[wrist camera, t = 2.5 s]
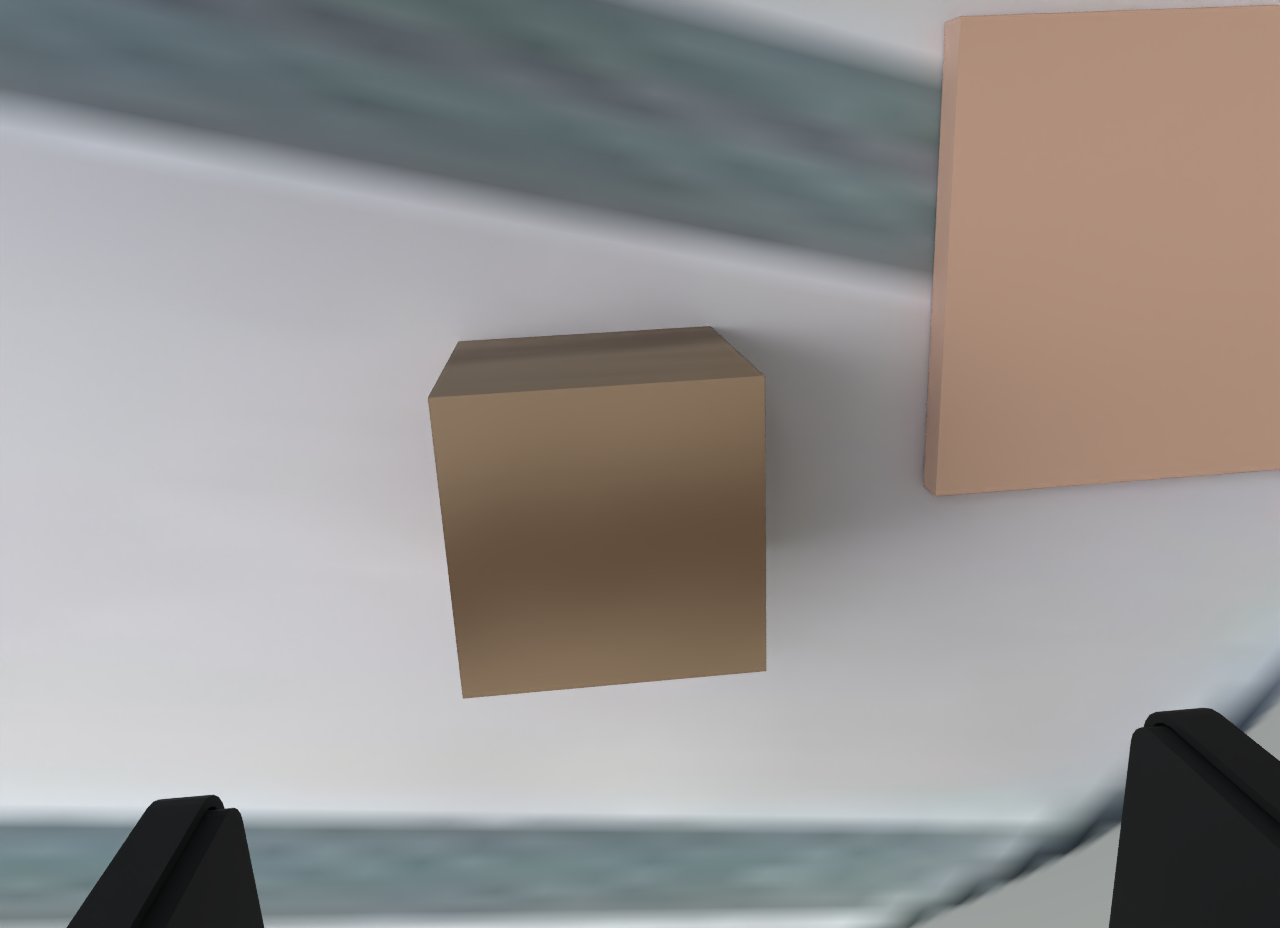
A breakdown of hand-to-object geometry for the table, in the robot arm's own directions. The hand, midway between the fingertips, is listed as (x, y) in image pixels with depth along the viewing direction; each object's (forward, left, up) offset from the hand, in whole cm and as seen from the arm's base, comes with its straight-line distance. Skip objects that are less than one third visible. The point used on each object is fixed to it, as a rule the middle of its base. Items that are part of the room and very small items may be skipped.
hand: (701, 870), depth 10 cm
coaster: (-4, +14, -14) cm, 20 cm away
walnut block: (0, 0, -14) cm, 14 cm away
